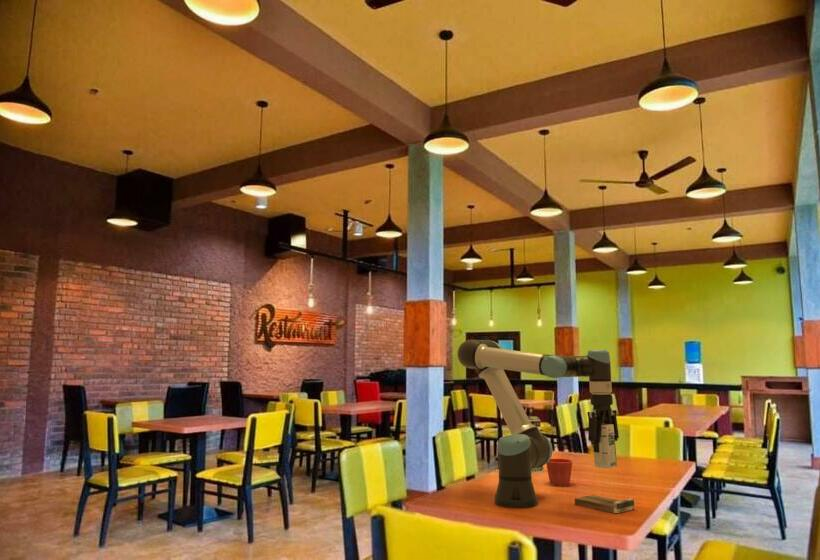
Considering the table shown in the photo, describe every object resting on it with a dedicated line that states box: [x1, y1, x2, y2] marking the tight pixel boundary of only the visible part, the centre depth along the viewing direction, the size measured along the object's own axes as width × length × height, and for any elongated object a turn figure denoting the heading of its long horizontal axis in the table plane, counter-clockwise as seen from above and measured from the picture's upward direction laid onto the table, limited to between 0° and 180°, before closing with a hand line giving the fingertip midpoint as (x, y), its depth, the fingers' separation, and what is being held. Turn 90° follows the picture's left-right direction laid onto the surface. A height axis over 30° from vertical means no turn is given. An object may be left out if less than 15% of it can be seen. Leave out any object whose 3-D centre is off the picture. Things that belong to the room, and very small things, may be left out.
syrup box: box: [592, 423, 618, 469], centre depth 204 cm, size 6×6×14 cm
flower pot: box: [545, 458, 573, 487], centre depth 242 cm, size 11×11×10 cm
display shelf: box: [574, 494, 636, 514], centre depth 202 cm, size 10×17×4 cm, turn 36°
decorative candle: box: [527, 415, 544, 474], centre depth 273 cm, size 9×9×25 cm
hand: (605, 460), depth 203 cm, fingers closed on syrup box, 6 cm apart
